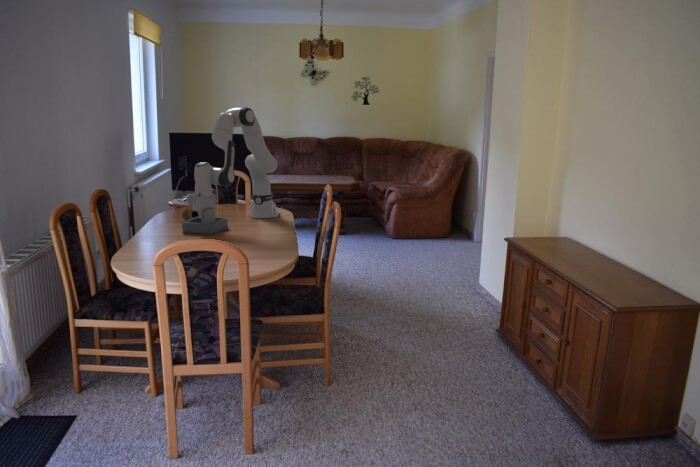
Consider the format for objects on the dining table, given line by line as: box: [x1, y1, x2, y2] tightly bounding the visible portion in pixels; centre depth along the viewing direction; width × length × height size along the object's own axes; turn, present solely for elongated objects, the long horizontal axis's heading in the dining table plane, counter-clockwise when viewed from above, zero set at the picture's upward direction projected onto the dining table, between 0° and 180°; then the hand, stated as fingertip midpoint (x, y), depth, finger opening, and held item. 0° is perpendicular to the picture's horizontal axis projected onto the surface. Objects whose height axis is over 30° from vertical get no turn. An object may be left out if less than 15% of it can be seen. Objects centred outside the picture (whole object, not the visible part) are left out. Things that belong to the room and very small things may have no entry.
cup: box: [186, 193, 195, 208], centre depth 359 cm, size 10×9×12 cm
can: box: [201, 207, 216, 224], centre depth 309 cm, size 8×8×12 cm
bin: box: [181, 216, 229, 236], centre depth 311 cm, size 18×18×6 cm
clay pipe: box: [181, 206, 199, 221], centre depth 337 cm, size 19×11×15 cm
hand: (204, 216), depth 310 cm, fingers closed on can, 7 cm apart
